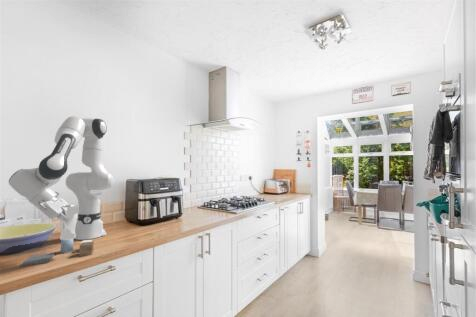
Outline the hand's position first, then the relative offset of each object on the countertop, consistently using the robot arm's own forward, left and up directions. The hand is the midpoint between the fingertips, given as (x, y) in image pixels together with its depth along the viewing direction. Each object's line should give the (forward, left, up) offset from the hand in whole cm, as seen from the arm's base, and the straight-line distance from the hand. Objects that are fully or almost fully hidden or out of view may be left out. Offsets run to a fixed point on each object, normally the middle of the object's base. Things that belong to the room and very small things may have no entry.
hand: (70, 219), depth 109 cm
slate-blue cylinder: (-9, -3, -17) cm, 20 cm away
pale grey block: (-9, +5, -17) cm, 20 cm away
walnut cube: (-1, +7, -17) cm, 19 cm away
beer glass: (0, -1, -9) cm, 9 cm away
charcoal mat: (-1, -11, -17) cm, 21 cm away
